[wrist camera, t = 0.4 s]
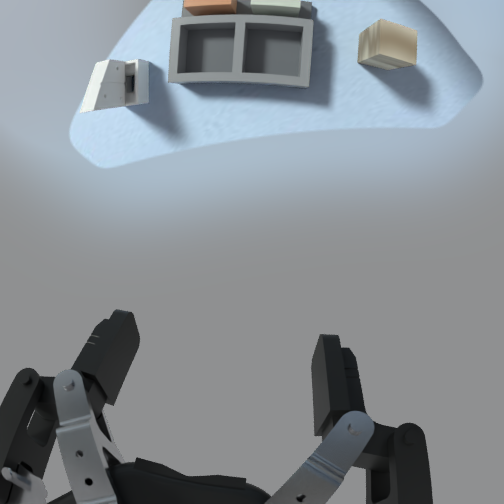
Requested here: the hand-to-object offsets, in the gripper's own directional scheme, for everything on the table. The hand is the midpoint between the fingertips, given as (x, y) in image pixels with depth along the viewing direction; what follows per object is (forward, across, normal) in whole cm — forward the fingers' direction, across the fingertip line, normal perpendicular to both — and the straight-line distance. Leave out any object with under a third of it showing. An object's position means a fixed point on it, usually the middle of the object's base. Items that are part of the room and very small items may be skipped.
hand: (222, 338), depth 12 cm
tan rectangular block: (+28, -13, -17) cm, 35 cm away
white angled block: (+28, +16, -11) cm, 34 cm away
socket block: (+27, +3, -16) cm, 32 cm away
